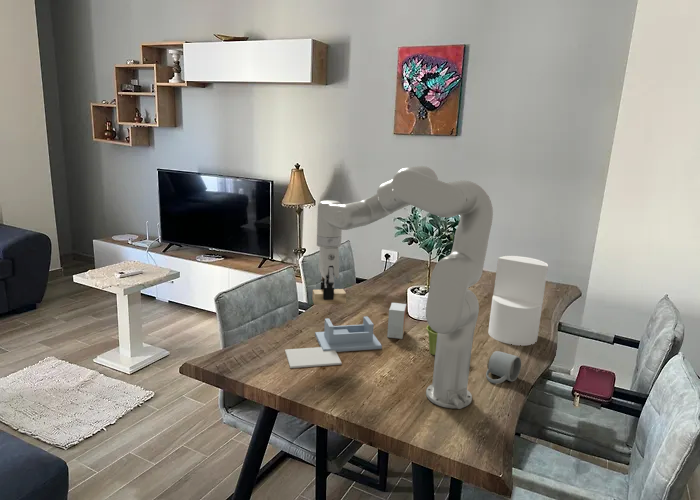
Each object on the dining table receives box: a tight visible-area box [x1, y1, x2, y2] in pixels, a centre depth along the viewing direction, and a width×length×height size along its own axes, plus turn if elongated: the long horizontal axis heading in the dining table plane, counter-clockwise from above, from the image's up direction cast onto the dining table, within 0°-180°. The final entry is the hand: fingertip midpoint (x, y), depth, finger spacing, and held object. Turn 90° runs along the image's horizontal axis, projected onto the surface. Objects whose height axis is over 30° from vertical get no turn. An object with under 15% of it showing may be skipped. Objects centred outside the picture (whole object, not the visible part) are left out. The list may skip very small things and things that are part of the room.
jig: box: [314, 315, 383, 353], centre depth 175 cm, size 20×14×8 cm
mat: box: [284, 346, 342, 369], centre depth 163 cm, size 12×16×1 cm
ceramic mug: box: [485, 350, 522, 385], centre depth 155 cm, size 11×8×8 cm
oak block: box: [311, 288, 347, 306], centre depth 163 cm, size 10×4×4 cm, turn 102°
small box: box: [386, 302, 407, 340], centre depth 183 cm, size 8×6×10 cm
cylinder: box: [488, 255, 549, 346], centre depth 185 cm, size 17×17×28 cm
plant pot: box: [426, 324, 438, 356], centre depth 170 cm, size 9×9×9 cm
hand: (326, 296), depth 163 cm, fingers closed on oak block, 4 cm apart
